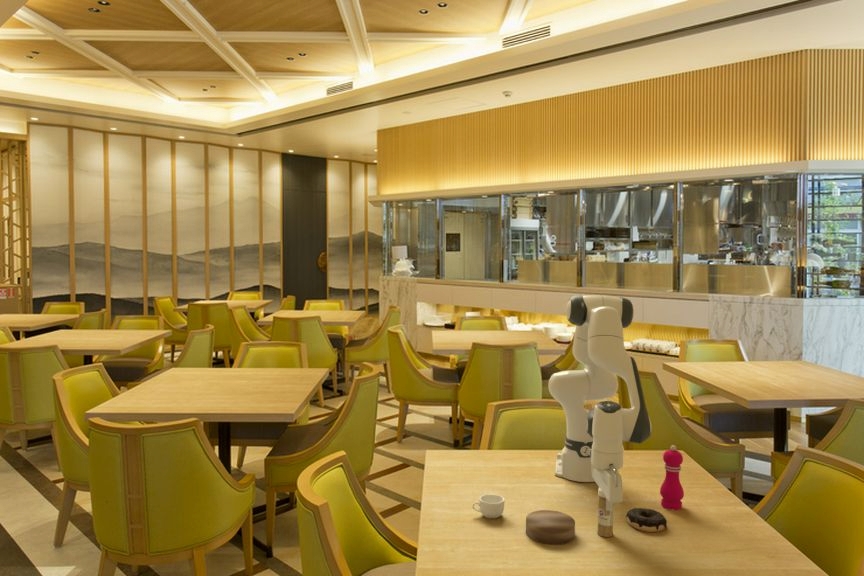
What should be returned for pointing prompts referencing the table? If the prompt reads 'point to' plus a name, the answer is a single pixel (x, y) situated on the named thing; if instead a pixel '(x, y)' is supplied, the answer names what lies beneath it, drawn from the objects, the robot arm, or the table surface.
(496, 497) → the teacup
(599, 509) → the sprinkles bottle
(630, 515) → the donut
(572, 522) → the disc
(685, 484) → the table surface
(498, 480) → the table surface
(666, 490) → the pepper mill
